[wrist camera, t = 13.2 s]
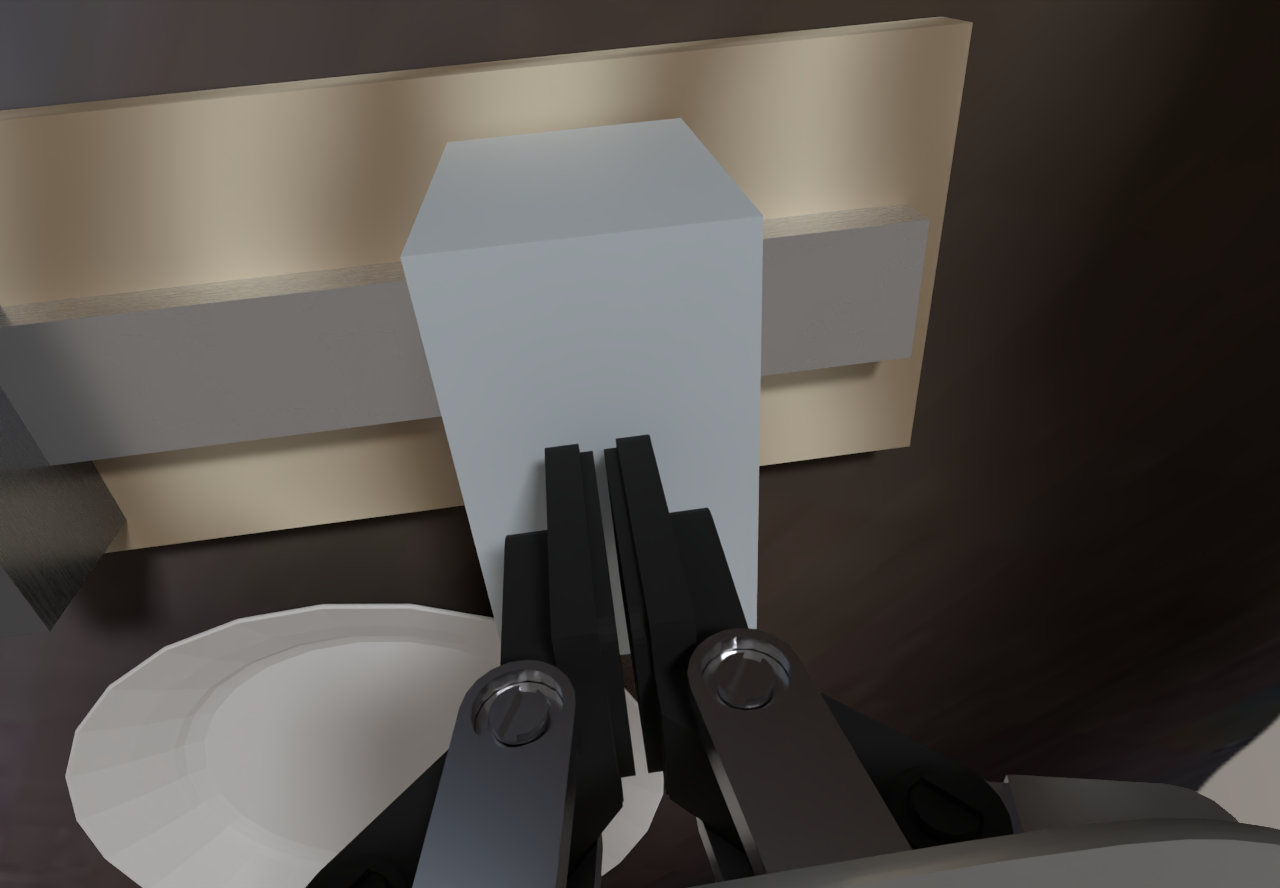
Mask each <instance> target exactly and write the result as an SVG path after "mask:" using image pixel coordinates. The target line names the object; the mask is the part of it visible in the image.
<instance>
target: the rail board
mask: <svg viewBox="0 0 1280 888" xmlns="http://www.w3.org/2000/svg"><path fill="white" fill-rule="evenodd" d="M972 24H973V22H967V21H962V20H957V19H951V18H946V17H932V18H922V19H912V20H903V21H893V22H883V23H873V24H863V25H853V26H843V27H833V28H823V29H813V30H803V31H793V32H783V33H773V34H763V35H753V36H743V37H733V38H723V39H713V40H703V41H693V42H683V43H673V44H663V45H653V46H643V47H633V48H623V49H613V50H603V51H593V52H583V53H573V54H563V55H553V56H543V57H533V58H523V59H513V60H503V61H493V62H483V63H473V64H463V65H453V66H443V67H433V68H423V69H413V70H403V71H393V72H383V73H373V74H363V75H353V76H343V77H333V78H323V79H313V80H303V81H293V82H283V83H273V84H263V85H253V86H243V87H233V88H223V89H213V90H203V91H193V92H183V93H173V94H163V95H153V96H143V97H133V98H123V99H113V100H103V101H93V102H83V103H73V104H63V105H53V106H43V107H33V108H23V109H13V110H3V111H0V305H1V307H3V306H12V305H21V304H29V303H38V302H47V301H56V300H65V299H73V298H82V297H91V296H100V295H108V294H117V293H126V292H135V291H143V290H152V289H161V288H170V287H178V286H187V285H196V284H205V283H213V282H222V281H231V280H240V279H248V278H257V277H266V276H275V275H283V274H292V273H301V272H310V271H318V270H327V269H336V268H345V267H353V266H362V265H371V264H380V263H388V262H397V261H401V258H400V256H401V254H402V251H403V249H404V247H405V244H406V242H407V239H408V237H409V234H410V232H411V229H412V227H413V225H414V222H415V220H416V217H417V215H418V212H419V210H420V207H421V205H422V203H423V200H424V198H425V195H426V193H427V190H428V188H429V185H430V183H431V181H432V178H433V176H434V173H435V171H436V168H437V166H438V163H439V161H440V159H441V156H442V154H443V151H444V149H445V146H446V144H447V142H454V141H464V140H473V139H483V138H493V137H502V136H512V135H521V134H531V133H540V132H550V131H560V130H569V129H579V128H588V127H598V126H607V125H617V124H627V123H636V122H646V121H655V120H665V119H674V118H681V119H682V120H683V121H684V122H685V123H686V125H687V126H688V127H689V128H690V129H691V130H692V132H693V133H694V134H695V135H696V136H697V138H698V139H699V140H700V141H701V142H702V144H703V145H704V146H705V147H706V148H707V150H708V151H709V152H710V153H711V154H712V155H713V157H714V158H715V159H716V160H717V161H718V163H719V164H720V165H721V166H722V167H723V169H724V170H725V171H726V172H727V173H728V174H729V176H730V177H731V178H732V179H733V180H734V182H735V183H736V184H737V185H738V186H739V188H740V189H741V190H742V191H743V192H744V194H745V195H746V196H747V197H748V198H749V199H750V201H751V202H752V203H753V204H754V205H755V207H756V208H757V209H758V210H759V211H760V213H761V214H762V215H763V220H765V219H774V218H783V217H791V216H800V215H809V214H818V213H826V212H835V211H844V210H853V209H861V208H870V207H879V206H888V205H896V204H905V203H906V204H908V205H909V206H911V207H912V208H914V209H915V210H916V211H918V212H919V213H921V214H922V215H924V216H925V217H926V218H928V219H929V220H930V222H929V229H928V236H927V243H926V250H925V257H924V265H923V272H922V279H921V286H920V293H919V301H918V308H917V315H916V322H915V329H914V337H913V344H912V351H911V357H908V358H900V359H892V360H884V361H876V362H868V363H860V364H853V365H845V366H837V367H829V368H821V369H813V370H805V371H797V372H789V373H781V374H773V375H765V376H761V386H760V446H759V466H763V465H771V464H778V463H786V462H794V461H801V460H809V459H816V458H824V457H831V456H839V455H846V454H854V453H861V452H869V451H876V450H884V449H891V448H899V447H906V446H910V440H911V433H912V426H913V420H914V413H915V406H916V399H917V393H918V386H919V379H920V373H921V366H922V359H923V353H924V346H925V339H926V332H927V326H928V319H929V312H930V306H931V299H932V292H933V286H934V279H935V272H936V265H937V259H938V252H939V245H940V239H941V232H942V225H943V219H944V212H945V205H946V198H947V192H948V185H949V178H950V172H951V165H952V158H953V152H954V145H955V138H956V131H957V125H958V118H959V111H960V105H961V98H962V91H963V84H964V78H965V71H966V64H967V58H968V51H969V44H970V38H971V31H972ZM92 462H93V463H94V465H95V467H96V469H97V470H98V472H99V474H100V475H101V477H102V479H103V481H104V482H105V484H106V486H107V487H108V489H109V491H110V492H111V494H112V496H113V498H114V499H115V501H116V503H117V504H118V506H119V508H120V509H121V511H122V513H123V515H124V516H125V518H126V520H127V521H126V522H125V524H124V525H123V527H122V528H121V530H120V531H119V533H118V534H117V535H116V537H115V538H114V540H113V541H112V543H111V544H110V545H109V547H108V548H107V550H106V551H105V553H109V552H117V551H124V550H132V549H139V548H147V547H154V546H162V545H170V544H177V543H185V542H192V541H200V540H207V539H215V538H222V537H230V536H237V535H245V534H252V533H260V532H267V531H275V530H282V529H290V528H297V527H305V526H312V525H320V524H327V523H335V522H342V521H350V520H357V519H365V518H373V517H380V516H388V515H395V514H403V513H410V512H418V511H425V510H433V509H440V508H448V507H455V506H463V505H465V504H464V500H463V496H462V492H461V489H460V485H459V481H458V477H457V473H456V469H455V466H454V462H453V458H452V454H451V450H450V446H449V442H448V439H447V435H446V431H445V427H444V423H443V419H442V416H440V417H432V418H424V419H417V420H409V421H401V422H393V423H385V424H377V425H369V426H361V427H353V428H345V429H337V430H329V431H321V432H313V433H306V434H298V435H290V436H282V437H274V438H266V439H258V440H250V441H242V442H234V443H226V444H218V445H210V446H202V447H195V448H187V449H179V450H171V451H163V452H155V453H147V454H139V455H131V456H123V457H115V458H107V459H99V460H92Z"/></svg>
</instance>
